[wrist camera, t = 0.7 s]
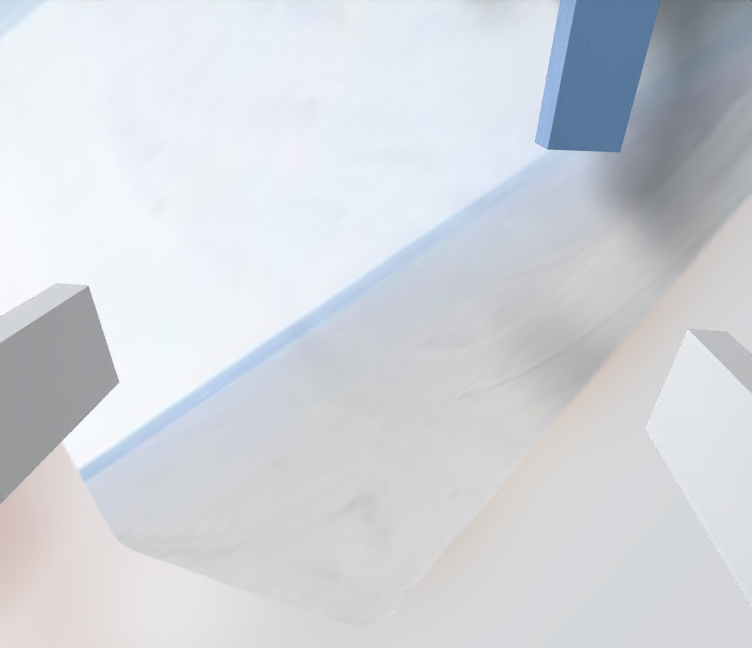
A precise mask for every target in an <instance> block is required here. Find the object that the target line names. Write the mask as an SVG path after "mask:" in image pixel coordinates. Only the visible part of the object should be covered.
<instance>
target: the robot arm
mask: <svg viewBox="0 0 752 648" xmlns="http://www.w3.org/2000/svg"><path fill="white" fill-rule="evenodd" d="M118 383H119V380H118V377H117V374H116V371H115V368H114V365H113V361H112V358H111V355H110V352H109V349H108V346H107V343H106V339H105V336H104V333H103V330H102V327H101V324H100V321H99V317H98V314H97V311H96V308H95V305H94V302H93V299H92V295H91V292H90V289H89V286H85V285H71V284H58V283H57V284H55V285H53V286H52V287H50V288H48V289H47V290H45V291H43V292H41V293H40V294H38V295H36V296H35V297H33V298H31V299H29V300H28V301H26V302H24V303H23V304H21V305H19V306H18V307H16V308H14V309H12V310H11V311H9V312H7V313H6V314H4V315H2V316H0V504H1V503H2V502H3V501H4V499H6V498H7V496H8V495H10V494H11V493H12V491H13V490H14V489H15V488H16V487H17V486H18V485H19V484H20V483H21V482H22V481H23V480H24V479H25V478H26V477H27V476H28V475H29V474H30V473H31V472H32V471H33V470H34V469H35V468H36V467H37V466H38V465H39V464H40V463H41V462H42V461H43V460H44V459H45V458H46V456H48V455H49V453H51V451H53V450H54V448H55V447H56V446H57V445H58V444H59V443H60V442H61V441H62V440H63V439H64V438H65V437H66V436H67V435H68V434H69V433H70V432H71V431H72V430H73V429H74V428H75V427H76V426H77V425H78V424H79V423H80V422H81V421H82V420H83V419H84V418H85V417H86V416H87V415H88V414H89V413H90V412H91V411H92V410H93V409H94V408H95V407H96V406H97V405H98V403H99V402H100V401H101V400H102V399H103V398H104V397H105V396H106V395H107V394H108V393H109V392H110V391H111V390H112V389H113V388H114V387H115V386H116V385H117V384H118ZM645 430H646V432H647V433H648V435H649V437H650V438H651V440H652V442H653V444H654V445H655V447H656V449H657V450H658V452H659V454H660V455H661V457H662V459H663V460H664V462H665V464H666V465H667V467H668V469H669V470H670V472H671V474H672V475H673V477H674V478H675V480H676V482H677V484H678V486H679V487H680V489H681V491H682V492H683V494H684V496H685V497H686V499H687V501H688V502H689V504H690V506H691V507H692V509H693V511H694V512H695V514H696V516H697V518H698V519H699V521H700V523H701V524H702V526H703V528H704V529H705V531H706V532H707V534H708V536H709V538H710V539H711V541H712V543H713V544H714V546H715V548H716V549H717V551H718V553H719V555H720V556H721V558H722V559H723V561H724V563H725V565H726V566H727V568H728V570H729V571H730V573H731V575H732V576H733V578H734V580H735V581H736V583H737V585H738V586H739V588H740V590H741V592H742V593H743V595H744V597H745V598H746V600H747V602H748V603H749V605H750V607H751V608H752V354H751V353H750V352H749V351H748V350H746V349H745V348H744V347H743V346H742V345H741V344H740V343H739V342H738V341H736V340H735V339H734V338H733V337H732V336H731V335H730V334H729V333H727V332H720V331H707V330H693V329H688V330H687V332H686V335H685V337H684V340H683V342H682V344H681V346H680V349H679V351H678V354H677V356H676V358H675V360H674V363H673V365H672V367H671V369H670V372H669V374H668V376H667V379H666V381H665V383H664V386H663V388H662V390H661V393H660V395H659V397H658V400H657V402H656V404H655V406H654V409H653V411H652V413H651V416H650V418H649V420H648V423H647V425H646V427H645Z"/></svg>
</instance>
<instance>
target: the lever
mask: <svg viewBox="0 0 752 648" xmlns="http://www.w3.org/2000/svg"><path fill="white" fill-rule="evenodd" d="M659 3H660V0H560V6H559V11H558V17H557V23H556V28H555V34H554V39H553V45H552V50H551V56H550V62H549V67H548V73H547V78H546V84H545V89H544V95H543V100H542V106H541V112H540V117H539V123H538V128H537V134H536V139H535V143H537V144H539V145H541V146H543V147H544V148H546V149H552V150H577V151H602V152H620V150H621V146H622V143H623V139H624V135H625V131H626V128H627V124H628V120H629V116H630V113H631V109H632V105H633V101H634V98H635V94H636V90H637V86H638V82H639V79H640V75H641V71H642V67H643V64H644V60H645V56H646V52H647V49H648V45H649V41H650V37H651V33H652V30H653V26H654V22H655V18H656V15H657V11H658V7H659Z"/></svg>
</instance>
